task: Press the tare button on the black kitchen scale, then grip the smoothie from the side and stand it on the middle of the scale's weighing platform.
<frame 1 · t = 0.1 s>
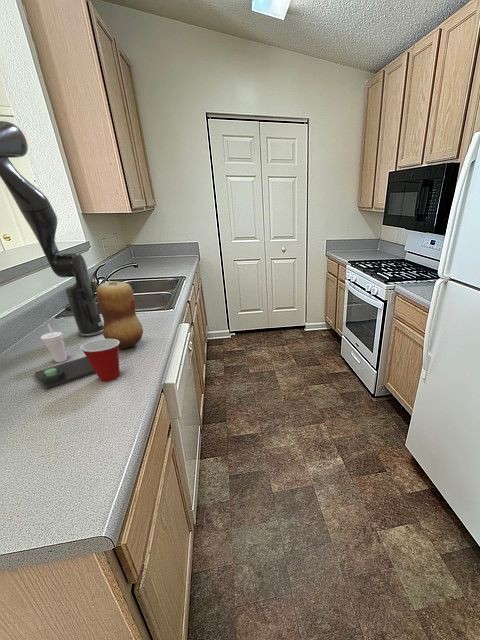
scale: (69, 373, 111), on the counter
plastic cup: (110, 377, 108), on the counter
tare button: (51, 372, 104), point 3 cm above the counter, slide at 0.1 cm
butternut squash: (128, 346, 129), on the counter
smoothie: (61, 360, 120), on the counter
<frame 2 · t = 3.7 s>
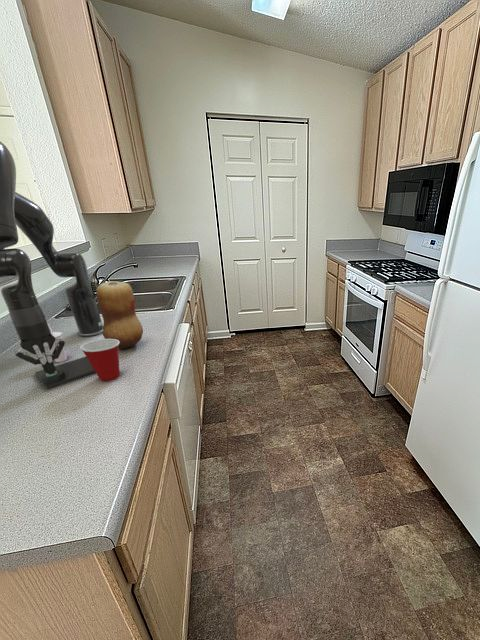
hand: (51, 373, 104), 3 cm above the counter, tool pointing down, fingers closed
tare button: (52, 375, 104), point 3 cm above the counter, slide at -0.8 cm, touching gripper
everything else where it was.
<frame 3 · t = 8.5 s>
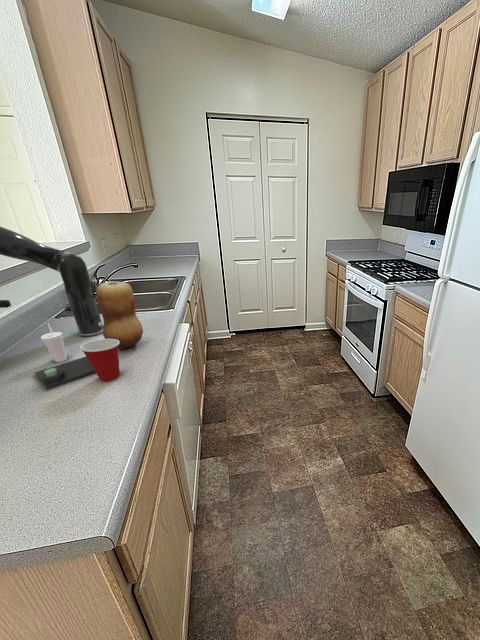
hand: (8, 303, 109), 22 cm above the counter, tool horizontal, fingers closed
tare button: (51, 372, 104), point 3 cm above the counter, slide at 0.1 cm
everything else where it was.
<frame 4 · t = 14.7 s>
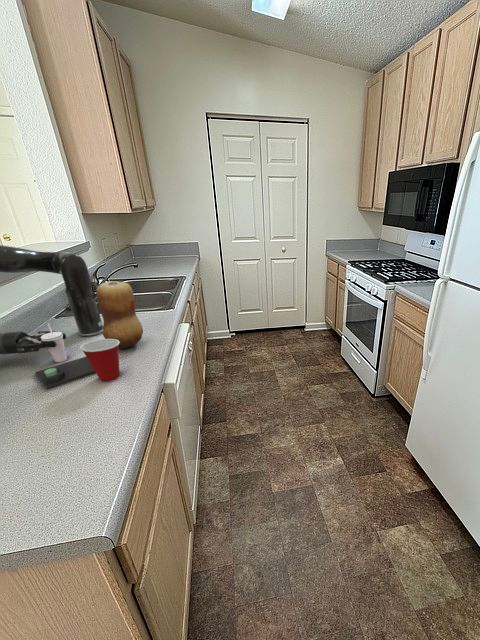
hand: (60, 339, 117), 8 cm above the counter, tool horizontal, fingers closed on smoothie, 6 cm apart
smoothie: (61, 360, 120), on the counter, touching gripper
everything else where it was.
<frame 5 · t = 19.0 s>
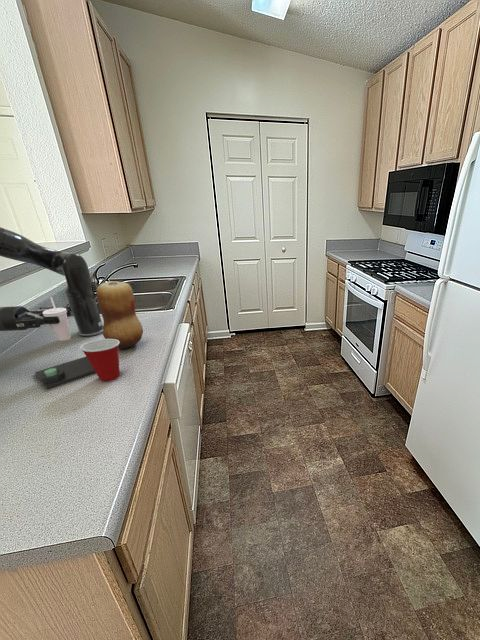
hand: (64, 316, 106), 19 cm above the counter, tool horizontal, fingers closed on smoothie, 6 cm apart
smoothie: (64, 339, 109), point 11 cm above the counter, touching gripper
everything else where it was.
when the fingers open (9 cm above the counter, at t = 23.2 s): smoothie stays where it is, resting on scale.
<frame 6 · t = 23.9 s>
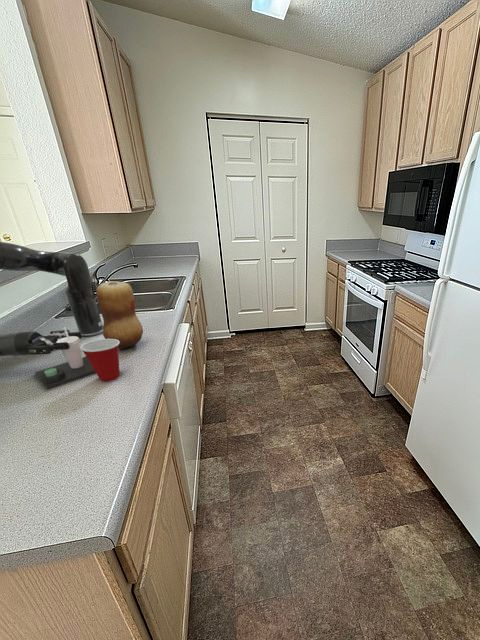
hand: (74, 340, 109), 11 cm above the counter, tool horizontal, fingers open, 8 cm apart
smoothie: (77, 366, 113), point 1 cm above the counter, touching scale
everything else where it was.
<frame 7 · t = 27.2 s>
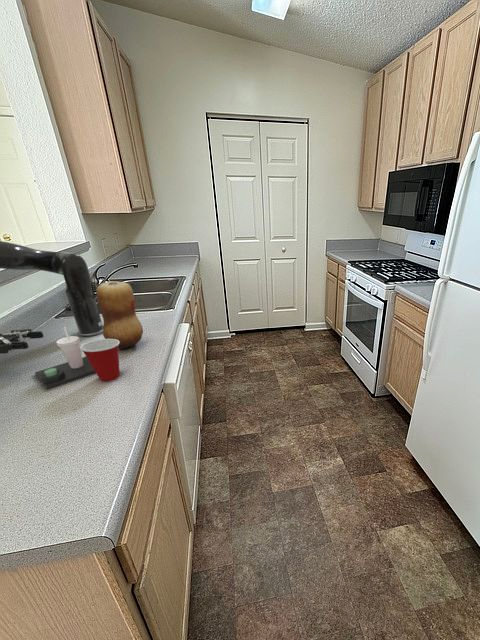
hand: (34, 339, 107), 12 cm above the counter, tool horizontal, fingers open, 8 cm apart
nothing on the counter moved.
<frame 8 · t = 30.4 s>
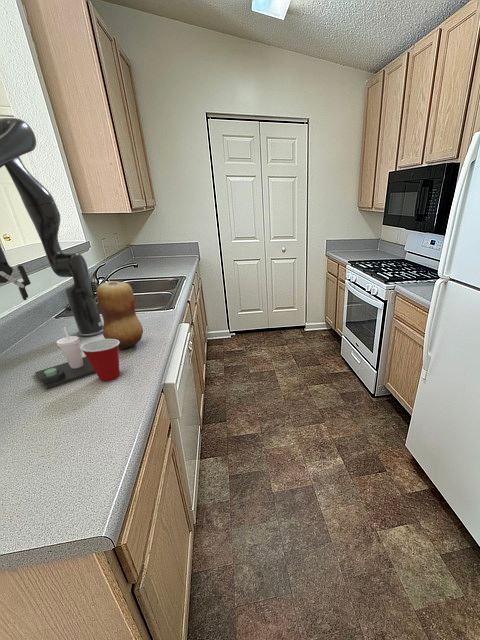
hand: (7, 302, 101), 24 cm above the counter, tool pointing down, fingers open, 8 cm apart
nothing on the counter moved.
at the end: tare button pushed in 1.0 cm at the most during the clip, back to where it started at the end; tare button slide at 0.1 cm; smoothie inside the target area on the scale (2.8 cm from its centre), point 1.0 cm above the scale's base; smoothie tilted 0° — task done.
